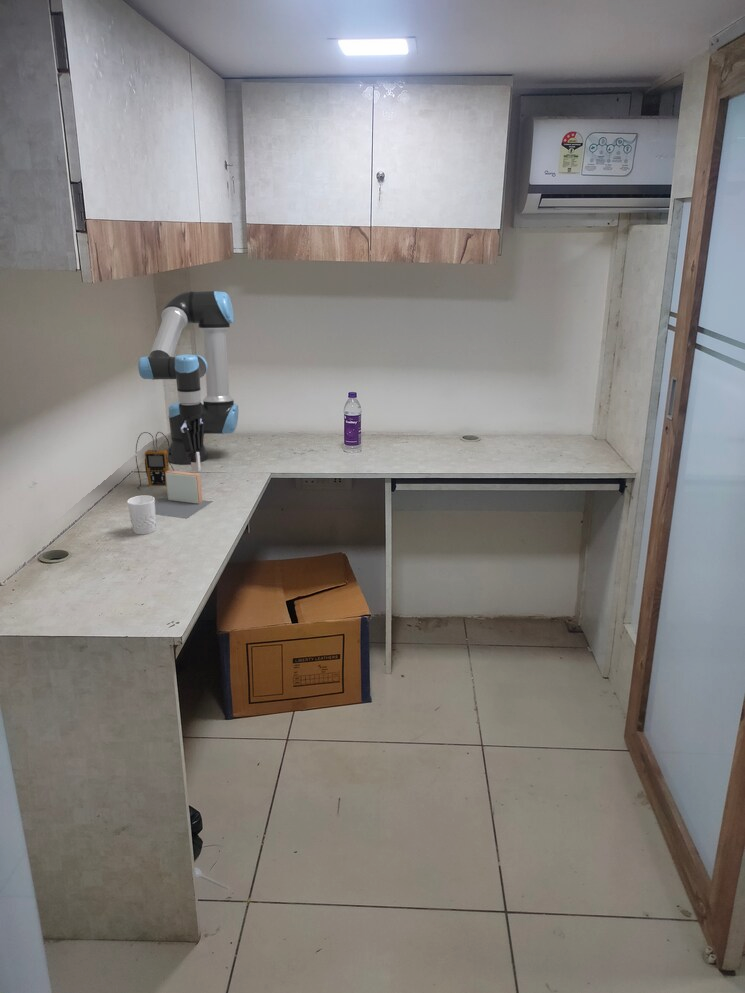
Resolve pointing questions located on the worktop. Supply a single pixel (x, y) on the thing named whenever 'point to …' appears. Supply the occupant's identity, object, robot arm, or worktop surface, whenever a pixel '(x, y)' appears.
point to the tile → (184, 487)
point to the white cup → (142, 514)
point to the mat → (178, 508)
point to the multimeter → (155, 465)
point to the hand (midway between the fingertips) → (196, 470)
